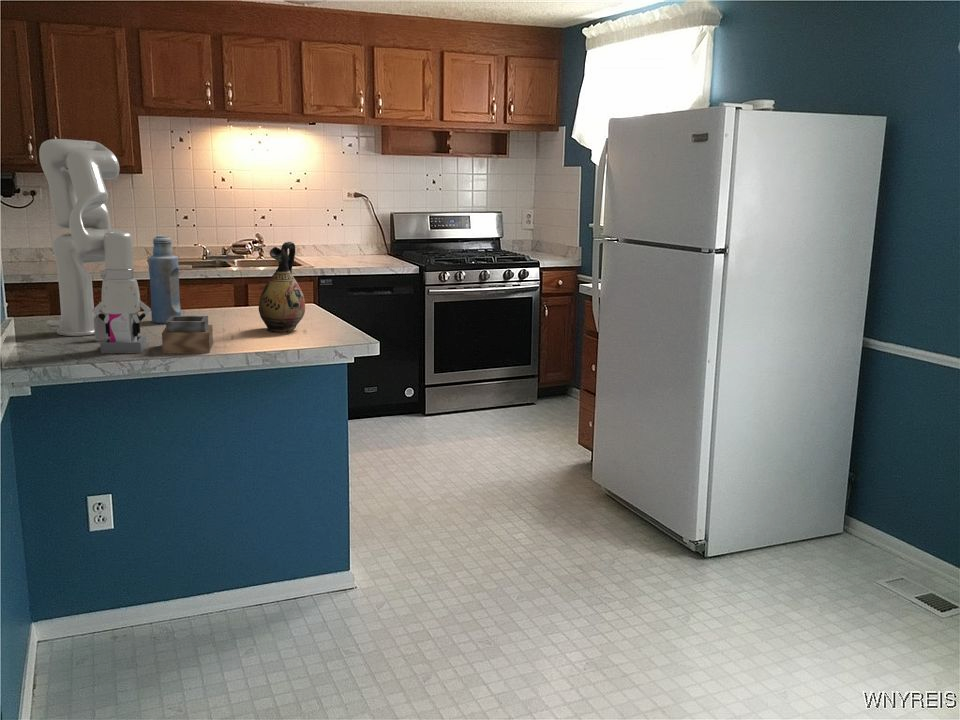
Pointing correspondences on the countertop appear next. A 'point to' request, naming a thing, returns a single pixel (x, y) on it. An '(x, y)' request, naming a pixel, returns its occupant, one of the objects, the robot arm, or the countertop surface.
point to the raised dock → (187, 335)
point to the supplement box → (122, 328)
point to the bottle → (164, 281)
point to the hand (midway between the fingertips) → (123, 335)
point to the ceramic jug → (282, 294)
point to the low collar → (123, 346)
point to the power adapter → (99, 328)
